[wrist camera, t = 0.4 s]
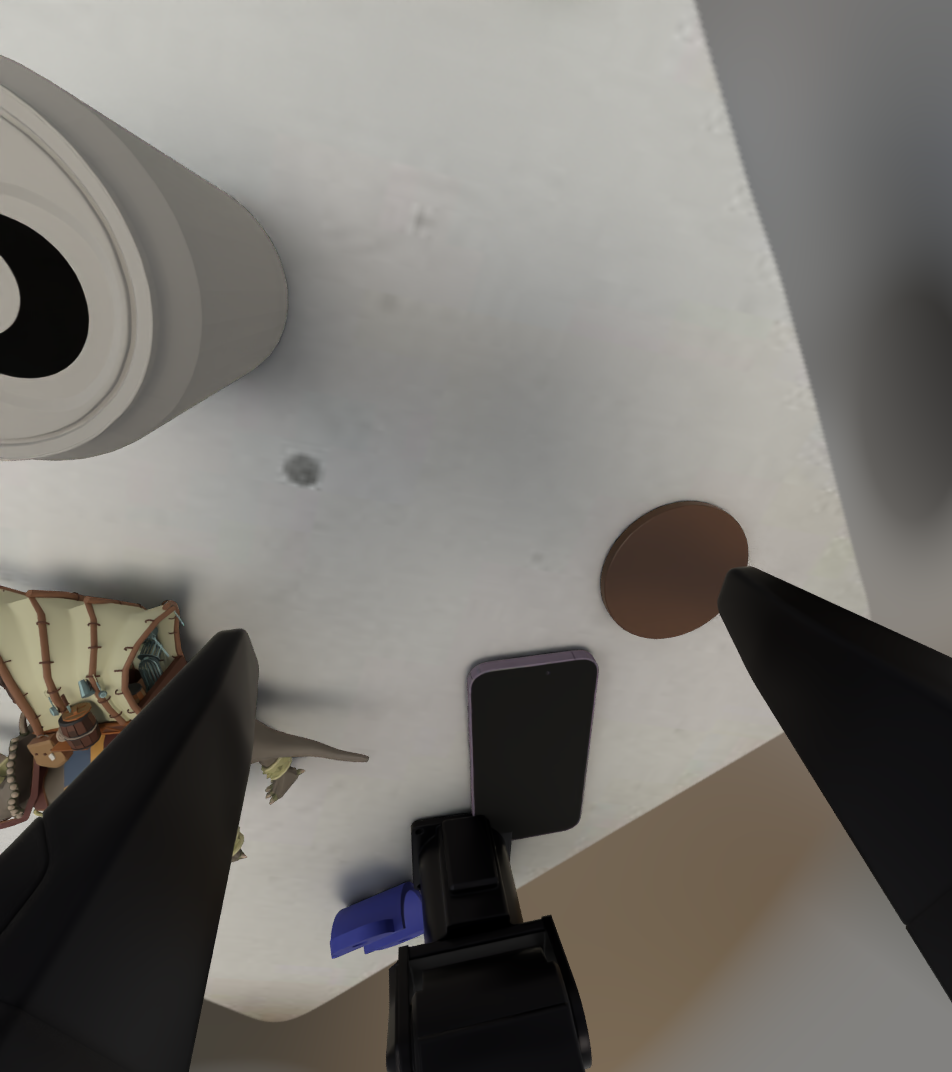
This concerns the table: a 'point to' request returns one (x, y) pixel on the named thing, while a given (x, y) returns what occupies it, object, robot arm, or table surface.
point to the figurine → (98, 693)
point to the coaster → (671, 569)
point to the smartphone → (531, 740)
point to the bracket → (378, 921)
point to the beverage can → (115, 280)
